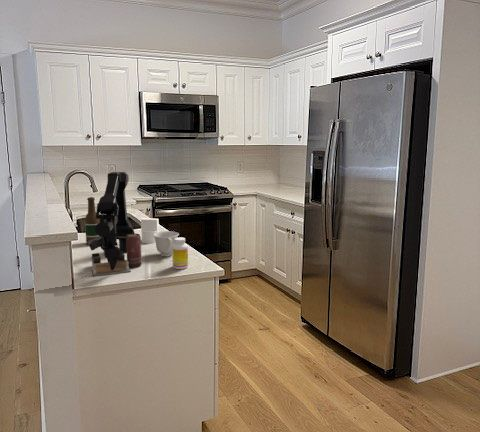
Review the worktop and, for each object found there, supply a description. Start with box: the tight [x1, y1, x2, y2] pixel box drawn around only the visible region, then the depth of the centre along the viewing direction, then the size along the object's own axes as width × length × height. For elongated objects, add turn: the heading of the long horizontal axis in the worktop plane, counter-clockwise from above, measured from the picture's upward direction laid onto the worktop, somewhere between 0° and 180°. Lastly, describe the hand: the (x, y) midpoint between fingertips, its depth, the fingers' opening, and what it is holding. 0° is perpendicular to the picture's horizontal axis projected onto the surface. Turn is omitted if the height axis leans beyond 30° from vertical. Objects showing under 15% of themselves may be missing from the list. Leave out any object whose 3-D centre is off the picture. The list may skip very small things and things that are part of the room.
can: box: [126, 232, 142, 269], centre depth 193 cm, size 6×6×14 cm
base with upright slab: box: [140, 217, 160, 245], centre depth 233 cm, size 9×9×12 cm
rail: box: [92, 259, 130, 274], centre depth 186 cm, size 3×14×3 cm, turn 113°
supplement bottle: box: [171, 236, 189, 270], centre depth 192 cm, size 7×7×13 cm
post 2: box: [118, 251, 126, 261], centre depth 195 cm, size 6×3×6 cm, turn 23°
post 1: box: [91, 252, 102, 267], centre depth 191 cm, size 6×3×6 cm, turn 23°
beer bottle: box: [84, 196, 100, 246], centre depth 226 cm, size 8×8×24 cm
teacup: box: [153, 230, 180, 257], centre depth 209 cm, size 12×15×10 cm
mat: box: [91, 268, 131, 278], centre depth 186 cm, size 6×15×1 cm, turn 113°
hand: (110, 266), depth 186 cm, fingers open, 9 cm apart
